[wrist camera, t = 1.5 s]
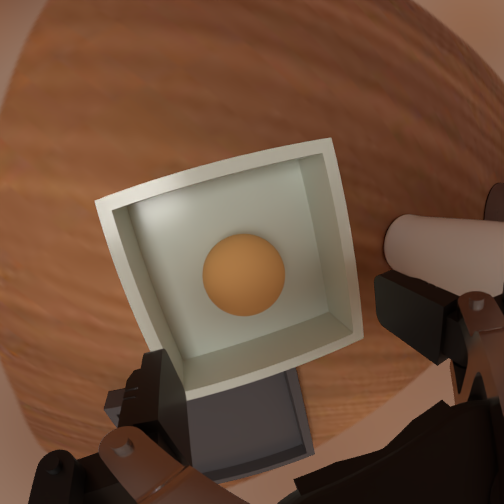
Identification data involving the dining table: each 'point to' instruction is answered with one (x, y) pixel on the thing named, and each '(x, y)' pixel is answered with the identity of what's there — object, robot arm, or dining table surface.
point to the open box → (218, 228)
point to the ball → (243, 275)
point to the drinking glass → (448, 252)
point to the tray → (243, 427)
